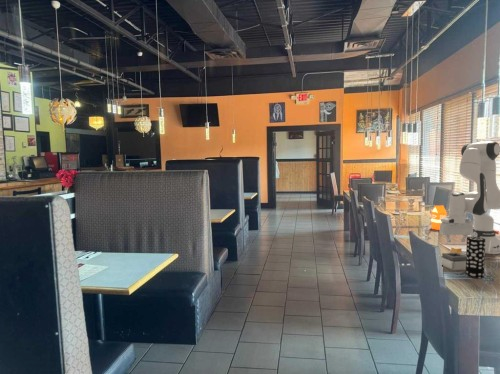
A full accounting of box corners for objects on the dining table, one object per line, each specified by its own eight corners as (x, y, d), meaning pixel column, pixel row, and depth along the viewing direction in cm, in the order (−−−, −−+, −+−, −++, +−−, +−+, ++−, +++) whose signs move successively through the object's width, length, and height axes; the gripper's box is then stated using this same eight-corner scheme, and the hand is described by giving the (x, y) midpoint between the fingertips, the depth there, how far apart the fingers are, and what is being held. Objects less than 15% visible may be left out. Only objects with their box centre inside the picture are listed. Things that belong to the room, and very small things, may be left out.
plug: (456, 258, 232) (457, 246, 231) (461, 259, 228) (461, 248, 227) (450, 258, 231) (451, 247, 230) (455, 260, 227) (455, 248, 226)
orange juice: (446, 229, 319) (446, 205, 317) (437, 229, 316) (438, 206, 315) (439, 227, 326) (440, 204, 324) (430, 228, 324) (431, 205, 322)
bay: (464, 261, 223) (464, 250, 223) (482, 268, 210) (482, 257, 209) (436, 263, 221) (437, 252, 220) (453, 270, 207) (453, 258, 206)
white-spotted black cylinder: (477, 273, 202) (478, 236, 200) (487, 278, 194) (489, 240, 192) (462, 273, 202) (463, 236, 200) (471, 278, 194) (473, 240, 192)
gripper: (468, 218, 232) (467, 240, 233) (438, 219, 229) (437, 241, 230) (476, 219, 226) (475, 242, 226) (445, 220, 223) (444, 243, 223)
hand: (455, 242), depth 228 cm, fingers open, 8 cm apart
